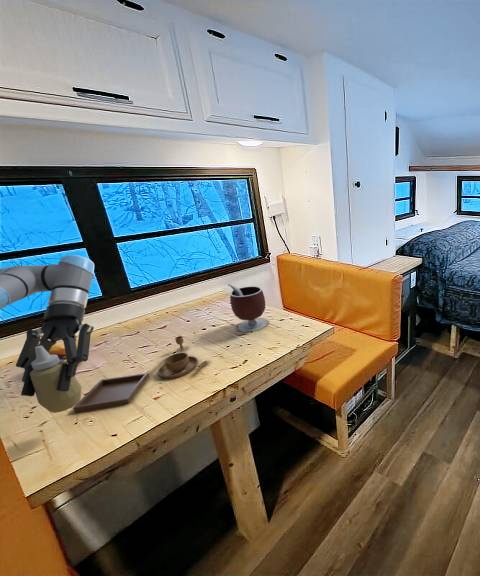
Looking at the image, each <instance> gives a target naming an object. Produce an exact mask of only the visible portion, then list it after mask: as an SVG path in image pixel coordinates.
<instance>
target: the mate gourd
mask: <svg viewBox="0 0 480 576" xmlns="http://www.w3.org/2000/svg"><path fill="white" fill-rule="evenodd" d="M227 286H229V287H230V288H231V289H232V290H231V291H230V292H229V303H230V306H231V307H230V308H231V310H232V313H233V315H234V316H235V317H236V318H238V319H239V320H241V321H243V322H241V323H240V324H239V325H238V327H237V329H238V331H240V332H243V333H252V332H256V331H259V330H261V329H263V328H265V327H266V326H267V325H268V321H267V320H266V319H264V318H263V319H262V318H260V317H262V315H263V314H264V312H265V311H266V298H265V294H264V291H263V288H262V287H260V286H257V285H256V286H255V285H249V286H242V287H237V286H236V285H233V284H231V283H227Z"/></svg>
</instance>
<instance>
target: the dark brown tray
mask: <svg viewBox="0 0 480 576" xmlns="http://www.w3.org/2000/svg"><path fill="white" fill-rule="evenodd" d="M149 378H150V374H149V372H143V373H137V374H131V375H123V376H117V377H109V378H103V379H100V380H99V381H98V382H97V383H96V384H95V385H94V386H93V387H92V388H91V389H90V390H89V391H88V392H87V393H86V394H85V395H84V396H83V397H82V398H81V399H80V402H79V403H78V404H77V405H75V406H73V407H72V409H73V411H74V413H79V412H86V411H91V410H96V409H97V410H98V409H102V408H103V409H104V408H109V407H115V406H122V405H127V404H130V402H131V401H132V400H133V399H134V398H135V396H136V395H137V394H138V392H140V390H141V388H142V387H143V386H144V384H145V383H146V382H147V380H148V379H149Z"/></svg>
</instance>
